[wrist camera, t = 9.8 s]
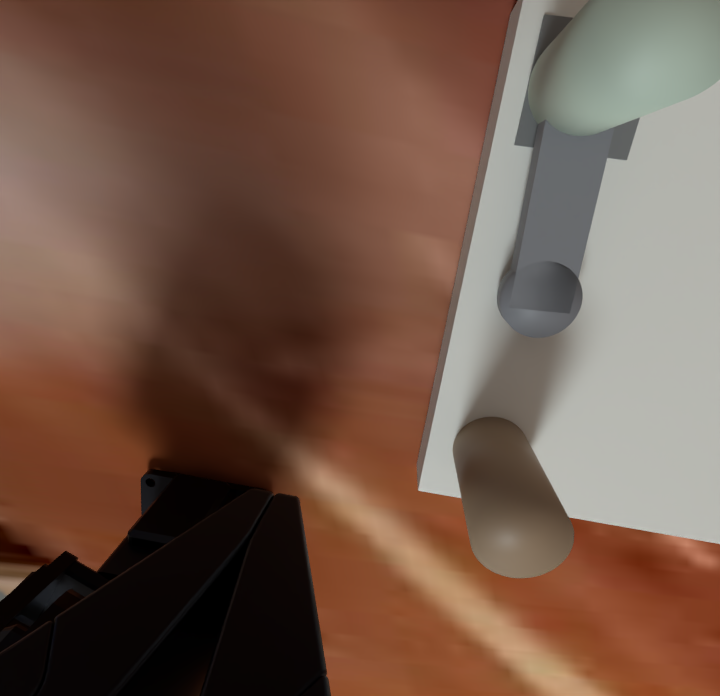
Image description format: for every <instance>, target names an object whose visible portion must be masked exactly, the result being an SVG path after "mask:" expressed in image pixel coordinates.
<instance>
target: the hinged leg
mask: <svg viewBox="0 0 720 696" xmlns="http://www.w3.org/2000/svg"><path fill="white" fill-rule="evenodd" d="M719 80H720V0H589V1H588V2H587V3H586V4H585V5H584V7H583V8H582V9H581V10H580V11H579V12H578V13H577V14H576V15H575V17H574V18H573V19H572V20H571V21H570V22H569V23H568V24H567V26H566V27H565V28H564V29H563V30H562V31H561V32H560V33H559V35H558V36H557V37H556V38H555V39H554V40H553V41H552V42H551V43H550V45H549V46H548V47H547V48H546V49H545V50H544V52H543V53H542V54H541V55H540V57H539V59H538V60H537V62H536V64H535V66H534V68H533V71H532V73H531V77H530V81H529V87H528V100H529V106H530V110H531V112H532V115H533V117H534V119H535V121H536V122H537V123H538V127H537V132H536V137H535V143H534V148H533V153H532V158H531V164H530V169H529V174H528V180H527V185H526V190H525V195H524V201H523V206H522V211H521V216H520V222H519V227H518V232H517V238H516V243H515V248H514V253H513V259H512V264H511V269H510V270H509V271H508V273H507V274H506V275H505V276H504V278H503V279H502V281H501V283H500V285H499V288H498V292H497V305H498V309H499V312H500V314H501V316H502V317H503V319H504V320H505V321H506V322H507V323H508V324H509V325H510V326H511V328H513V329H514V330H515V331H516V332H518V333H520V334H522V335H524V336H527V337H532V338H544V337H549V336H552V335H555V334H557V333H559V332H561V331H562V330H564V329H565V328H567V327H568V326H569V325H570V324H571V323H572V322H573V321H574V319H575V318H576V316H577V315H578V313H579V311H580V308H581V305H582V299H583V293H582V287H581V284H580V281H579V279H578V278H579V274H580V270H581V265H582V261H583V257H584V253H585V249H586V244H587V240H588V236H589V232H590V228H591V224H592V219H593V215H594V211H595V207H596V203H597V199H598V194H599V190H600V186H601V182H602V178H603V174H604V169H605V165H606V161H607V157H608V153H609V149H610V144H611V140H612V136H613V132H614V128H615V127H616V126H618V125H621V124H624V123H626V122H629V121H631V120H634V119H637V118H639V117H642V116H645V115H647V114H650V113H652V112H655V111H658V110H660V109H663V108H665V107H668V106H671V105H673V104H676V103H678V102H681V101H684V100H686V99H689V98H691V97H694V96H696V95H698V94H700V93H701V92H703V91H705V90H707V89H708V88H709V87H711V86H712V85H714V84H715V83H716V82H717V81H719Z"/></svg>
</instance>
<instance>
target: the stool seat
mask: <svg viewBox="0 0 720 696" xmlns="http://www.w3.org/2000/svg"><path fill="white" fill-rule="evenodd" d="M588 1H589V0H518V1H517V3H516V5H515V6H514V8H513V10H512V12H511V14H510V19H509V24H508V29H507V33H506V38H505V43H504V48H503V53H502V57H501V62H500V67H499V72H498V77H497V81H496V86H495V91H494V96H493V101H492V105H491V110H490V115H489V120H488V125H487V129H486V134H485V139H484V144H483V149H482V153H481V158H480V163H479V168H478V173H477V177H476V182H475V187H474V192H473V197H472V201H471V206H470V211H469V216H468V221H467V225H466V230H465V235H464V240H463V245H462V249H461V254H460V259H459V264H458V269H457V273H456V278H455V283H454V288H453V293H452V297H451V302H450V307H449V312H448V317H447V321H446V326H445V331H444V336H443V341H442V345H441V350H440V355H439V360H438V365H437V369H436V374H435V379H434V384H433V389H432V393H431V398H430V403H429V408H428V413H427V417H426V422H425V427H424V432H423V437H422V441H421V446H420V451H419V456H418V461H417V480H418V491H424V492H429V493H435V494H441V495H446V496H452V497H458V498H462V503H463V508H464V513H465V519H466V524H467V529H468V534H469V539H470V544H471V547H472V551H473V553H474V555H475V556H476V558H477V559H478V560H479V561H480V563H481V564H483V565H484V566H485V567H486V568H488V569H489V570H491V571H493V572H495V573H497V574H500V575H502V576H506V577H512V578H530V577H535V576H539V575H542V574H545V573H547V572H549V571H551V570H553V569H554V568H556V567H557V566H559V565H560V564H561V563H562V562H563V561H564V560H565V559H566V557H567V556H568V554H569V553H570V551H571V549H572V546H573V542H574V530H573V526H572V523H571V521H570V519H569V517H571V518H577V519H582V520H588V521H593V522H599V523H605V524H610V525H616V526H622V527H627V528H633V529H639V530H644V531H650V532H656V533H661V534H667V535H673V536H678V537H684V538H690V539H695V540H701V541H707V542H712V543H718V544H720V80H719V81H717V82H716V83H715V84H714V85H712V86H711V87H709V88H708V89H707V90H705V91H703V92H701V93H700V94H698V95H696V96H694V97H691V98H689V99H686V100H684V101H681V102H678V103H676V104H673V105H671V106H668V107H665V108H663V109H660V110H658V111H655V112H652V113H650V114H647V115H645V116H642V117H639V118H637V119H634V120H631V121H629V122H626V123H624V124H621V125H618V126H616V127H615V128H614V132H613V136H612V140H611V144H610V149H609V153H608V157H607V161H606V165H605V169H604V174H603V178H602V182H601V186H600V190H599V194H598V199H597V203H596V207H595V211H594V215H593V219H592V224H591V228H590V232H589V236H588V240H587V244H586V249H585V253H584V257H583V261H582V265H581V270H580V274H579V278H578V279H579V281H580V284H581V287H582V293H583V299H582V305H581V308H580V311H579V313H578V315H577V316H576V318H575V319H574V321H573V322H572V323H571V324H570V325H569V326H568V327H567V328H565V329H564V330H562V331H561V332H559V333H557V334H555V335H552V336H549V337H544V338H532V337H527V336H524V335H522V334H520V333H518V332H516V331H515V330H514V329H513V328H511V326H510V325H509V324H508V323H507V322H506V321H505V320H504V319H503V317H502V316H501V314H500V312H499V309H498V305H497V292H498V288H499V285H500V283H501V281H502V279H503V278H504V276H505V275H506V274H507V273H508V271H509V270H510V269H511V264H512V259H513V253H514V248H515V243H516V238H517V232H518V227H519V222H520V216H521V211H522V206H523V201H524V195H525V190H526V185H527V180H528V174H529V169H530V164H531V158H532V153H533V148H534V143H535V137H536V132H537V127H538V123H537V122H536V121H535V119H534V117H533V115H532V112H531V110H530V106H529V100H528V87H529V81H530V77H531V73H532V71H533V68H534V66H535V64H536V62H537V60H538V59H539V57H540V55H541V54H542V53H543V52H544V50H545V49H546V48H547V47H548V46H549V45H550V43H551V42H552V41H553V40H554V39H555V38H556V37H557V36H558V35H559V33H560V32H561V31H562V30H563V29H564V28H565V27H566V26H567V24H568V23H569V22H570V21H571V20H572V19H573V18H574V17H575V15H576V14H577V13H578V12H579V11H580V10H581V9H582V8H583V7H584V5H585V4H586V3H587V2H588Z"/></svg>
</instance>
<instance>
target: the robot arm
mask: <svg viewBox="0 0 720 696" xmlns="http://www.w3.org/2000/svg"><path fill="white" fill-rule="evenodd" d="M150 478H151V479H153V480H154V481H155V482H153V481H152V480H151V479H150ZM141 508H142V516H141V517H140V518H139V519H138V520H137V522H136V523H135V524H134V525H133V526H132V527H131V529H130V530H129V531H128V535H127V536H126V538H125V539H124V540H123V541H122V542H121V543H120V545H119V546H118V547H117V548H116V549H115V551H114V552H113V553H112V554H111V555H110V556H109V558H108V559H107V560H106V561H105V562H104V564H103V565H102V566H101V567H100V568H99V570H98V571H97V572H96V571H94V570H92V569H91V568H89V567H87V566H85V565H84V564H82V563H80V562H79V561H77V560H78V558H77V557H76V556H74V555H72V554H71V553H69V552H67V551H65V552H63V553H62V554H61V555H60V556H59V557H58V558H56V559H55V560H54V561H53V562H52V563H51V564H49V565H47V564H44V565H43V566H42V567H41V568H39V569H38V570H37V571H36V572H32V573H31V574H29V575H28V576H27V577H26V578H25V579H24V580H23V581H22V582H21V583H20V584H19V585H18V586H17V587H16V588H15V589H14V590H13V591H12V592H11V593H10V594H9V595H7V596H6V597H5V598H4V599H3V600H2V601H0V696H331V693H330V686H329V680H328V678H327V677H326V675H327V670H326V663H325V657H324V651H323V645H322V638H321V632H320V626H319V619H318V613H317V607H316V601H315V594H314V588H313V582H312V576H311V569H310V563H309V557H308V550H307V544H306V538H305V532H304V525H303V519H302V513H301V506H300V500H299V498H298V497H297V496H292V495H287V494H281V493H278V494H275V496H274V493H273V492H270V491H266V490H264V489H260V488H254V487H249V486H243V485H238V484H232V483H226V482H221V481H215V480H210V479H204V478H199V477H193V476H188V475H182V474H176V473H171V472H165V471H160V470H149V471H147V472H146V473H145V474H144V475H143V477H142V478H141Z"/></svg>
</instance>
